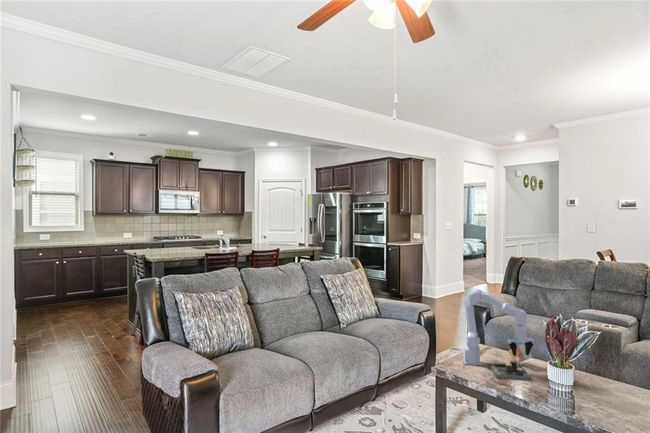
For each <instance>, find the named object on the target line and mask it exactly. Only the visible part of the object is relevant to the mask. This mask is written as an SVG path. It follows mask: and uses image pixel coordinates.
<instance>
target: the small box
mask: <svg viewBox="0 0 650 433" xmlns="http://www.w3.org/2000/svg"><path fill="white" fill-rule="evenodd" d="M508 354H509V355H510V357H511V360H515V361H516V363H517V364H519V363H522V362H524V361H527V360H529V359H531V358H533V355H532V354H531V352H530V353H529V356H527V355H526V354H525V343H521V344H519V345H517V349H516V356H514V355H513V353H512V350H511V349H509V350H508Z"/></svg>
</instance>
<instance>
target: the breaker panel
mask: <svg viewBox="0 0 650 433" xmlns="http://www.w3.org/2000/svg"><path fill="white" fill-rule="evenodd" d="M509 363H510V364H511V365H512V371H506V366H505V364H506V363H497V362H494V363H493V362H488V368H489V370H490V371H491V372H492V374H493V376H494V377H495V378H496V379H506V380H521V381H522V380H523V381H532V376H531V375H529V374H528V372H527V371H526V370H525V369H524V368H523V367H522V366H523V365H522V364H518V363H516V361H515V360H513V359H510V361H509Z"/></svg>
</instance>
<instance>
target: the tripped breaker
mask: <svg viewBox="0 0 650 433" xmlns="http://www.w3.org/2000/svg"><path fill="white" fill-rule="evenodd" d="M504 364H505V366H506V371H512V365H511V364H510V362H507V363H504Z"/></svg>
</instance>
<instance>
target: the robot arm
mask: <svg viewBox="0 0 650 433" xmlns="http://www.w3.org/2000/svg"><path fill="white" fill-rule="evenodd" d="M480 302H481V303H484V302H488V303H490V304H492V305H493V306H496V307H498V308H500V309H501V311H502V312H503V313H505V314H506V315H508V316H510V317H512V318H514V320H515V324H514V326H515V328H514V329H515V330H514V338H513V337H512V338H508V339H507V343H508V345H509V347H510V350H512V353H513V355H514V356H516V349H517V346H518V345H517V344H518V343H519V344H525V354H526V355H527V356H529V353H530V354H531V351H532V350H531V349H532V348H533V347H534V343H535V339H534V338H532V337H531V338H530V337H527V317H528V314H527V312H526V311H525V310H524V309H521V308H518V307H516V306H514V305H513V304H512V303H511V302H509V303H508V302H502V301H501V300H499V299H497V298H495V297H494V296H492V295H490V294H489V293H487V292H486V291H482V290H480V289H474V290H473V291H472V292H470V294H469V295H468V296H467V298H466V300H465V301H464V310H465V318H466V327H467V328H466V329H467V337H466V338H467V340H466V346H465V347H462V360H463V363H464V364H465V365H470V366H471V365H473V366H482V362H481V347H480V343H481V338H480V337H479V332H477V324H476V317H475V309H474V306H475V304H478V303H480Z"/></svg>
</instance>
